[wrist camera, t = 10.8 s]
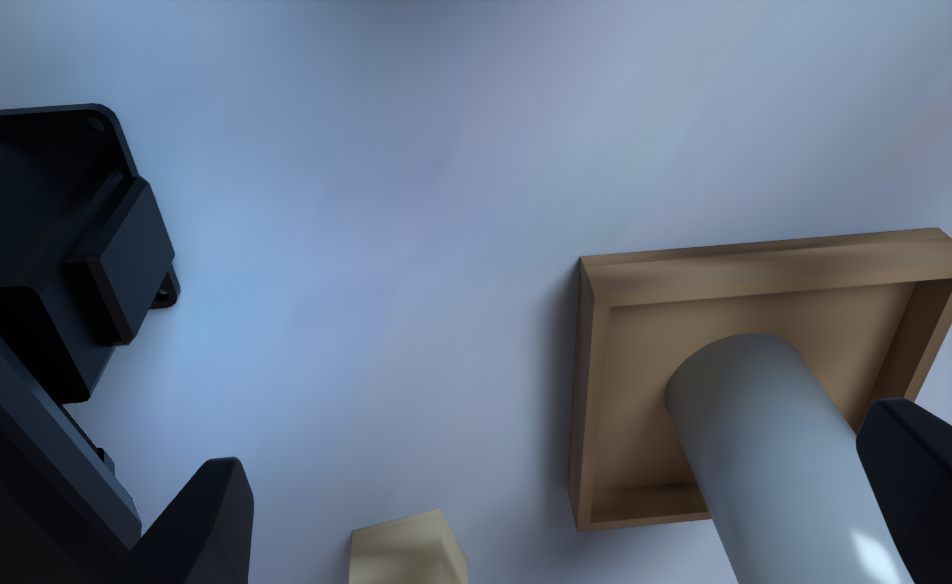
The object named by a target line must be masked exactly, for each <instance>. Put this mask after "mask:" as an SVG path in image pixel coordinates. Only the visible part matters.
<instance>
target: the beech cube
mask: <svg viewBox="0 0 952 584" xmlns="http://www.w3.org/2000/svg"><path fill="white" fill-rule="evenodd" d="M349 584H468V572H467V559H466V556H465V555H464V553H463V551H462V549H461V547H460V546H459V544H458V542H457V540H456V538H455V537H454V535H453V533H452V531H451V529H450V528H449V526H448V524H447V522H446V520H445V518H444V517H443V515H442V513H441V511H440V509H437V510H433V511H429V512H425V513H421V514H417V515H413V516H409V517H405V518H401V519H397V520H393V521H390V522H386V523H382V524H378V525H374V526H370V527H366V528H362V529H358V530H354V531H352V542H351V557H350V571H349Z"/></svg>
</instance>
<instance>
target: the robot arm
mask: <svg viewBox="0 0 952 584" xmlns="http://www.w3.org/2000/svg"><path fill="white" fill-rule="evenodd" d="M89 118H93V119H97V120H98V121H100V122H101V123H102V124H103V126H104V130H97V129H96V128H94V127H93V126H92V125H91V123H90V122H89ZM174 256H175V253H174V250H173V247H172V244H171V241H170V239H169V236H168V233H167V230H166V228H165V225H164V222H163V219H162V216H161V214H160V211H159V208H158V205H157V203H156V200H155V197H154V194H153V192H152V189H151V186H150V184H149V183H148V182H147V181H146V180H145V179H144V178H143V177H141V176H139V174H138V171H137V169H136V166H135V163H134V160H133V158H132V155H131V152H130V150H129V147H128V144H127V141H126V139H125V136H124V133H123V131H122V128H121V125H120V122H119V120H118V118H117V116H116V115H115V113H114V112H113V111H111V110H110V109H109V108H108V107H106V106H103V105H101V104H94V103H90V104H75V105H61V106H47V107H33V108H19V109H5V110H0V584H248V572H249V561H250V549H251V538H252V526H253V515H254V498H253V493H252V490H251V487H250V485H249V482H248V479H247V477H246V474H245V471H244V469H243V466H242V463H241V462H240V460H239V459H238V458H236V457H224V458H213V459H209V460H207V461H206V462H205V463H204V464H203V465H202V466H201V467H200V468H199V469H198V471H197V472H196V473H195V474H194V475H193V477H192V478H191V479H190V480H189V481H188V483H187V484H186V485H185V486H184V487H183V489H182V490H181V491H180V492H179V493H178V494H177V496H176V497H175V498H174V499H173V500H172V502H171V503H170V504H169V505H168V506H167V508H166V509H165V510H164V511H163V512H162V514H161V515H160V516H159V517H158V518H157V520H156V521H155V522H154V523H153V524H152V526H151V527H150V528H149V529H148V530H147V532H146V533H145V534H144V535H143V536H142V537H141V528H142V524H141V521H140V518H139V516H138V513H137V510H136V508H135V505H134V502H133V500H132V497H131V496H130V495H129V494H128V493H127V491H126V490H125V489H124V488H123V486H122V485H121V484H120V483H119V481H118V480H117V479H116V478H115V467H114V462H113V461H112V459H111V458H110V457H109V456H108V454H107V453H106V452H105V451H104V449H102V448H96V446H95V445H94V444H93V443H92V441H91V440H90V439H89V438H88V436H87V435H86V434H85V433H84V431H83V430H82V429H81V428H80V426H79V425H78V424H77V423H76V422H75V420H74V419H73V418H72V417H71V415H70V414H69V413H68V412H67V410H66V409H65V408H64V407H63V405H62V404H69V403H80V402H84V401H88V399H89V398H90V397H91V395H92V393H93V391H94V389H95V387H96V385H97V383H98V381H99V379H100V377H101V375H102V373H103V371H104V369H105V367H106V365H107V363H108V361H109V359H110V357H111V355H112V353H113V352H114V350H115V348H116V346H126V345H129V344H130V343H131V342H132V340H133V339H134V338H135V337H136V335H137V333H138V331H139V329H140V327H141V324H142V322H143V320H144V318H145V316H146V314H147V312H148V310H149V309H159V308H167V307H171V306H172V305H174V304H175V303H176V301H177V298H178V296H179V294H180V285H179V282H178V280H177V277H176V274H175V271H174V269H173V266H172V263H171V262H172V260H173V258H174ZM158 289H163V290H165V291H166V292H167V293H168V294H161V293H160V292H158ZM856 450H857V454H858V457H859V459H860V461H861V464H862V466H863V469H864V471H865V474H866V476H867V479H868V481H869V484H870V486H871V489H872V491H873V493H874V496H875V498H876V501H877V503H878V506H879V508H880V511H881V513H882V516H883V518H884V520H885V523H886V525H887V528H888V530H889V533H890V535H891V537H892V540H893V542H894V544H895V546H896V549H897V551H898V553H899V555H900V557H901V559H902V561H903V563H904V565H905V567H906V569H907V571H908V572H909V574H910V576H911V578H912V580H913V582H914V584H952V425H950V424H948V423H947V422H945V421H943V420H942V419H940V418H938V417H937V416H935V415H933V414H932V413H930V412H928V411H927V410H925V409H924V408H922V407H920V406H919V405H917V404H915V403H914V402H912V401H910V400H908V399H906V398H902V397H894V398H883V399H876V400H874V401H873V402H872V403H871V404H870V406H869V408H868V410H867V412H866V415H865V417H864V419H863V422H862V424H861V426H860V429H859V431H858V434H857V436H856Z"/></svg>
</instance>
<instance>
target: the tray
mask: <svg viewBox="0 0 952 584" xmlns="http://www.w3.org/2000/svg"><path fill="white" fill-rule="evenodd" d="M951 324H952V239H951V238H950V237H949V236H948V235H947V234H945V233H944V232H943V231H942V230H941V229H940V228H926V229H914V230H902V231H890V232H877V233H865V234H853V235H841V236H828V237H816V238H804V239H791V240H779V241H767V242H755V243H742V244H730V245H718V246H705V247H693V248H681V249H669V250H656V251H644V252H632V253H620V254H607V255H595V256H583V257H581V261H580V278H579V296H578V313H577V331H576V349H575V366H574V384H573V401H572V419H571V436H570V454H569V471H568V494H569V498H570V503H571V507H572V511H573V516H574V520H575V525H576V529H577V532H582V531H592V530H603V529H613V528H623V527H634V526H644V525H654V524H664V523H675V522H685V521H695V520H706V519H712V518H711V515H710V513H709V510H708V508H707V505H706V503H705V501H704V498H703V496H702V493H701V491H700V488H699V486H698V484H697V481H696V479H695V476H694V474H693V471H692V469H691V467H690V464H689V462H688V459H687V457H686V454H685V452H684V450H683V447H682V445H681V442H680V440H679V437H678V435H677V433H676V430H675V428H674V425H673V423H672V420H671V418H670V416H669V413H668V411H667V408H666V404H665V393H666V388H667V385H668V382H669V380H670V378H671V377H672V375H673V373H674V372H675V371H676V369H677V368H678V367H679V366H680V365H681V364H682V363H683V362H684V361H685V360H686V359H687V358H688V357H689V356H690V355H692V354H693V353H695V352H696V351H697V350H699V349H701V348H702V347H704V346H706V345H708V344H710V343H712V342H714V341H717V340H720V339H722V338H725V337H729V336H733V335H738V334H744V333H765V334H771V335H775V336H779V337H781V338H783V339H785V340H787V341H789V342H790V343H792V344H793V345H794V346H795V347H796V348H797V350H798V351H799V352H800V354H801V355H802V357H803V358H804V360H805V361H806V363H807V364H808V365H809V367H810V368H811V370H812V371H813V373H814V374H815V376H816V377H817V379H818V380H819V382H820V383H821V385H822V386H823V387H824V389H825V390H826V392H827V393H828V395H829V396H830V398H831V399H832V401H833V402H834V404H835V405H836V406H837V408H838V409H839V411H840V412H841V414H842V415H843V417H844V418H845V420H846V421H847V423H848V424H849V425H850V427H851V428H852V430H853V431H854V433H855V434H856V436H857V434H858V431H859V429H860V426H861V424H862V422H863V419H864V417H865V415H866V412H867V410H868V408H869V406H870V404H871V403H872V402H873V401H874V400H876V399H883V398H894V397H902V398H906V399H908V400H910V401H912V402H915V400H916V398H917V395H918V393H919V391H920V389H921V387H922V385H923V383H924V381H925V379H926V376H927V374H928V372H929V370H930V368H931V366H932V364H933V362H934V360H935V357H936V355H937V353H938V351H939V349H940V347H941V345H942V343H943V341H944V338H945V336H946V334H947V332H948V330H949V328H950V326H951Z"/></svg>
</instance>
